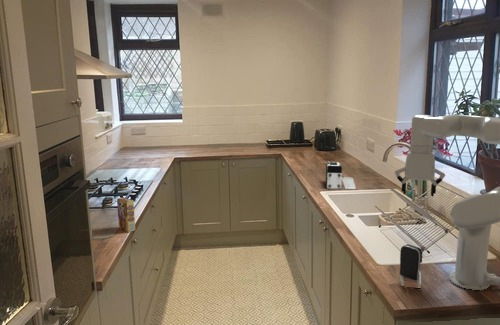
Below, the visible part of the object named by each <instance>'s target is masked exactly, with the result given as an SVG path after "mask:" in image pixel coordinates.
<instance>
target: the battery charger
mask: <svg viewBox="0 0 500 325" xmlns="http://www.w3.org/2000/svg"><path fill="white" fill-rule="evenodd" d="M399 256H400V257H399V258H400V259H399V275H400V276H401V275H402V276H404V278H405V277H406V278H407V279H410V280H414V281H417V280H418V279H419V278H420V275H419V272H420V270H421V263H422V262H423V249H421V247H417V246H416V245H415V246H414V245H413V244H412V245H411V244H408V243H407V244H405V245H402V246H401V248H400V254H399Z"/></svg>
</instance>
